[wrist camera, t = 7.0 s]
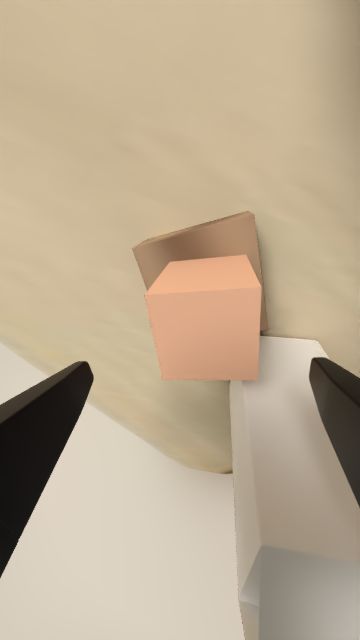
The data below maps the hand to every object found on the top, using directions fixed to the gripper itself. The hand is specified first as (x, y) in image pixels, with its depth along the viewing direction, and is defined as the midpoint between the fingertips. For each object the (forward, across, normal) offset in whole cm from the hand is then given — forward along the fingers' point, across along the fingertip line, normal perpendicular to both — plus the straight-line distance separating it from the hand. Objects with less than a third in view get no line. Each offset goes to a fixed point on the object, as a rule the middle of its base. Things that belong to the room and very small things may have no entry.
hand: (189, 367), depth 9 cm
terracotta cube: (+8, 0, 0) cm, 8 cm away
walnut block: (+12, 0, 0) cm, 12 cm away
